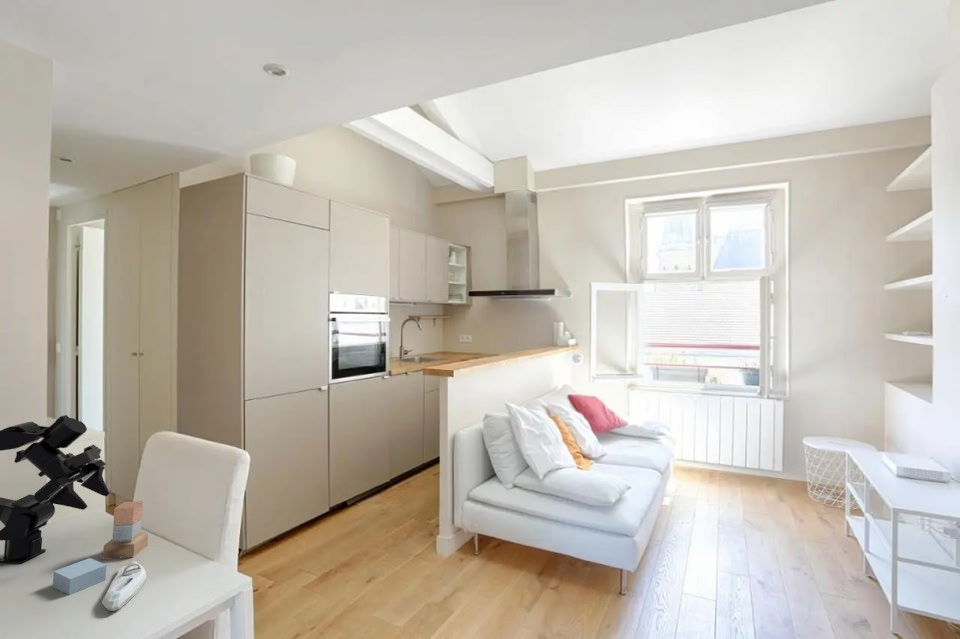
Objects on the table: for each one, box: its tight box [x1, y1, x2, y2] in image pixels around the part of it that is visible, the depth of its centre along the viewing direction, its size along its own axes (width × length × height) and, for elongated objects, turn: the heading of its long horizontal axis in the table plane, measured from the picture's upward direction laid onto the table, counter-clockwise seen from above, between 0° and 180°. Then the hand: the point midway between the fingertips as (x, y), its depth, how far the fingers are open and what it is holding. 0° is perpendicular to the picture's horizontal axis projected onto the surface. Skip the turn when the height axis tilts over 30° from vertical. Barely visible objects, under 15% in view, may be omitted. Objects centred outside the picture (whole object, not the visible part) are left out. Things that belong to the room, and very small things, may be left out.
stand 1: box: [52, 557, 107, 596], centre depth 106 cm, size 7×7×4 cm
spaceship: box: [101, 560, 147, 612], centre depth 106 cm, size 23×7×4 cm, turn 29°
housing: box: [111, 500, 144, 543], centre depth 121 cm, size 4×4×9 cm
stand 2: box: [102, 531, 149, 559], centre depth 121 cm, size 7×7×4 cm
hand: (97, 501), depth 119 cm, fingers open, 9 cm apart
